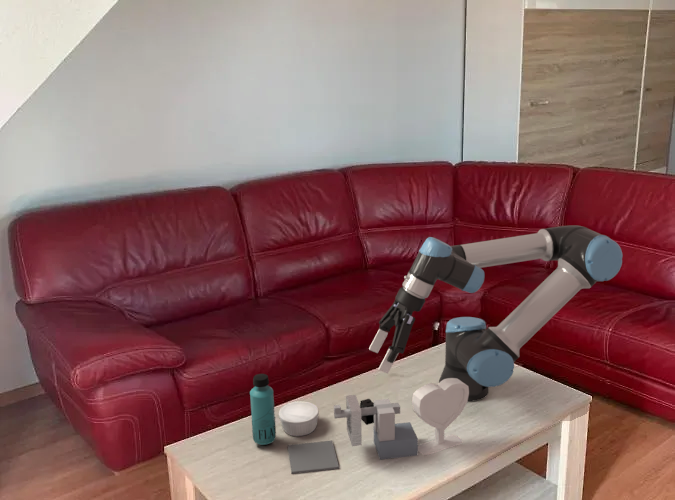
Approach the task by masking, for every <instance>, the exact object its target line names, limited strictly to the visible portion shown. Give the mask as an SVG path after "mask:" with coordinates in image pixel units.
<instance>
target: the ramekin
mask: <svg viewBox="0 0 675 500" xmlns="http://www.w3.org/2000/svg"><path fill="white" fill-rule="evenodd" d="M319 412H320V411H319V408H318V406H317V405H316V404H314V403H313V402H309V401H303V400H302V401H301V400H299V401H297V400H296V401H292V402H289V403H285V405H282V406H281V407H280V409H279V411H278V418H279V420H280V423H281V428H282V430H283V431H284V432H285V433H286V434H288V435H290V436H293V437H304V436H307V435H310V434H311V433H313V431H315V429H316V427H317V426H318V420H319V419H318V417H319Z"/></svg>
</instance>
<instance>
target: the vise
mask: <svg viewBox="0 0 675 500" xmlns="http://www.w3.org/2000/svg"><path fill="white" fill-rule="evenodd" d="M373 403H374V407H365V408H361V416H365V415H374V423H373V445H374V447H375V449H376V452H377V455H378V459H379V460H389V459H397V458H407V457H416V456H418V455H419V452H418V445H419V443H418V442H419V438H418V436H417V434H416V432H415V430H414V428H413V426H412V423H411V421H408V422H407V421H406V422H399V423H396V421H395V420H396V415H400V414H401V405H400V403H399V402H395V403H391V400H390V399H389V398H383V399H382V398H381V399H374V400H373ZM333 416H334V417H333V418H334V419H343V418H344V419H345V418H347V417H350V412H349V409H346V408H345V409H342V408H341V404H335V405H334V404H333Z"/></svg>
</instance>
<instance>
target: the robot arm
mask: <svg viewBox="0 0 675 500" xmlns="http://www.w3.org/2000/svg"><path fill="white" fill-rule="evenodd" d="M623 255H624V254H623V252H622V248H621V246H620V245H619V244H618V242H616V241H615V240H613V239H611V238H610V236H607V235H605V234H601V233H599V232H597V231H594V230H592V229H590V228H588V227H586V226H581V225H575V224H574V225H561V226H560V225H559V226H554V227H553V226H552V227H547V228H541V229H539V230H538V232H535V233H530V234H524V235H516V236H511V237H504V238H497V239H491V240H485V241H477V242H472V243H465V244H457V245H449V244H448V243H446V242H444V241H442V240H441V239H438V238H436V237H432V236H428V237H427V238H426V239H425V241H424V242H423V244H422V245H421V247H420V248H419V250H418V253H417V254H416V256H415V259H414V261H413V263H412V265H411V267H410V269H409V270H408V272H407V275H404V277H403V278H404V281H403V282H402V287H400V288H399V289H398V291H397V294H396V295H395V299H394V301H393V303H392V305H391V306H390V307H389V308H388V309H387V311H386V313H384V315H383V316H382V318H381V319H380V320H379V321H378V324H379V327H378V330H377V333H376V334H375V336H374V338H373V339H372V342H371V344H370V345H369V348H368V349H369V351H371V352H373V353H376V354H378V353H379V351H380V349H381V348H382V346H383V344H384V342H385V341H386V338H387V337H388V334H389V333H390V332H391V329H392V328H393V327H394V326H395V330H394V334H393V335H394V336H393V338H392V343H391V345H390V346H388V349H387V351H386V354H385V356H383V357H384V358H383V359H382V361H381V363H380V365H379V367H378V368H377V369H378V370H379V371H380V372H383V373H385V374H387V375H388V374H389V372H390V370H391V369H392V367H393V365H394V364H395V361H396V359H397V357H398V356H399V354H404V353H405V351H406V347H407V345H408V341H409V337H410V334H411V331H412V328H413V325H414V324H415V321H416V317H414V316H412V315H413V313H414V312H421V310H422V308H423V307H424V304H425V303H426V299H427V298H429V296H430V295H431V292H432V290H433V288H434V286H435V284H436V282H437V280H438V281H442V282H444V283H446V284H449V285H451V286H452V287H454V288H457V289H459V290H461V291H463V292H465V293H466V292H467V293H470V294H474V293H476V292H478V291H479V290H480V289H481V288H482V286H483V284H484V282H485V271H484V270H483V269H482V268H487V267H494V266H501V265H507V264H508V265H509V264H514V263H520V262H527V261H533V260H540V259H541V260H542V261H545V262H550V261H557V267H556V269H555V270H553V272H552V273H551V274H549V275H548V276H547V277H546V278H545V279H544V281H542V282H541V283H540V284H539V285H538V286H537V287H536V288H535V289H534V290H533V291H532V292H531V293H530V294H529V295H528V296H527V297H526V298H525V299H524V300H523V301H522V302H521V303H520V304H519V305H517V307H516V308H515V309H513V311H512V312H510V313H509V315H507V316H506V317H505V319H502V321H501V322H500V323H499V324H498V325H497V326H488V327H487V322H486V321H485V320H484V319H482V318H480V317H479V318H478V317H474V316H473V317H472V316H460V317H453V318H452V319H449V321H447V323H446V326H445V353H444V355H445V356H444V357H445V360H444V361H445V362H444V363H445V364H444V368H443V369H442V372H441V375H440V377H439V381H438V383H440V382H441V381H442V380H443V379H447V378H457V379H459V380H460V381H462V382H463V383H464V384H466V385H467V386H468V387H469V396H468V401H467V402H475V401H476V402H477V401H479V400H482V399H485V398H486V397H487V395H489V389H490V388H492V387H494V388H495V387H498V386H501V385H503V384H504V383H506V382H507V381H509V380H510V379H511V377H512V375H513V373H514V369H515V362H516V361H517V360H518V359H519V358H520V349H521V348H522V347H523V346H524V345H525V344H526V343H528V341H529V340H531V338H533V336H534V335H535V334H536V333H537V332H538V331H540V330H541V329H542V327H544V326H545V325H546V324H547V323H548V322H549V321H550V320H551V319H552V318H553V317H554V316H555V315H556V314H557V313H558V312H559V311H560V310H561V309H562V308H563V307H564V306H566V304H567V303H568V302H569V301H570V300H572V298H574V296H575V295H577V293H578V292H580V291H581V290H582V289H583V290H584V289H590V288H592V287H593V286H594V285H595V284H596V283H597V282H604V281H606V282H607V281H610V280H612V279H613V278H614V277H616V276H617V275H618V273H619V272H620V270H621V267H622V265H623Z"/></svg>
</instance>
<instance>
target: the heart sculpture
mask: <svg viewBox="0 0 675 500" xmlns="http://www.w3.org/2000/svg"><path fill="white" fill-rule="evenodd" d="M468 396H469V387H468V386H467V385H466V384H464V383H463V382H462V381H460V380H459V379H457V378H447V379H443V380H442V381H441V382H440V383H439V382H438V383H437V384H436V383H434V382H429V383H426V384H424V385H422V386H420V387H419V388H417V389H415V391H414V392H413V393H412V399H411V405H412V410H413V412H414V413H415V414H416V416H417V417H418V418H419V419H421V420H422V422H424V423H425V424H427V425H429V427H433V428H435V429H434V431H435V434H434V435H435V437H434V438H435V439H432V440H429V441H426V442H423V443H420V444H419V443H418V453H420V454H422V455H425V456H429V455H431V454H435V453H438V452H441V451H443V450H447V449H450V448H452V447H456V446H459V445H461V444H463V443H464V442H463V440H462V438H461V437H460V436H458V435H455V434H452V433H450V434H448V435H445V430H447V428H449V426H450V425H451V424H453V422H454V421H456V420H457V418H458V417H459V416H460V415H461V413H462V412H463V411H464V410H465V407H466V405H467V403H468V402H469V401H468Z"/></svg>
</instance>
